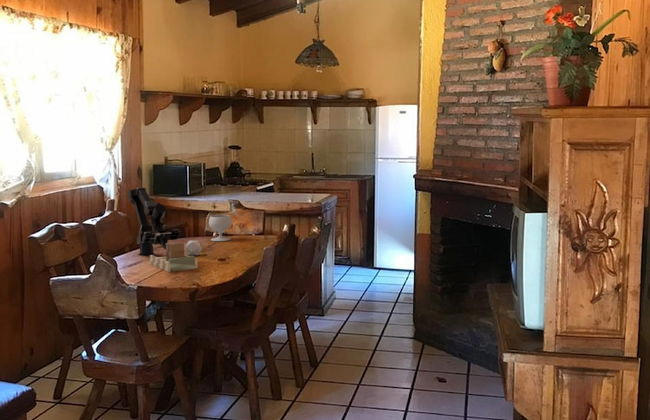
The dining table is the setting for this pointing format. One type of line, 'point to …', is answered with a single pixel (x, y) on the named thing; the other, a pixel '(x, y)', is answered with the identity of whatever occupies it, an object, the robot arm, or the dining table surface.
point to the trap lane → (174, 263)
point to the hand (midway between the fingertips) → (165, 249)
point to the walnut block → (174, 250)
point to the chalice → (220, 225)
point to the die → (193, 248)
